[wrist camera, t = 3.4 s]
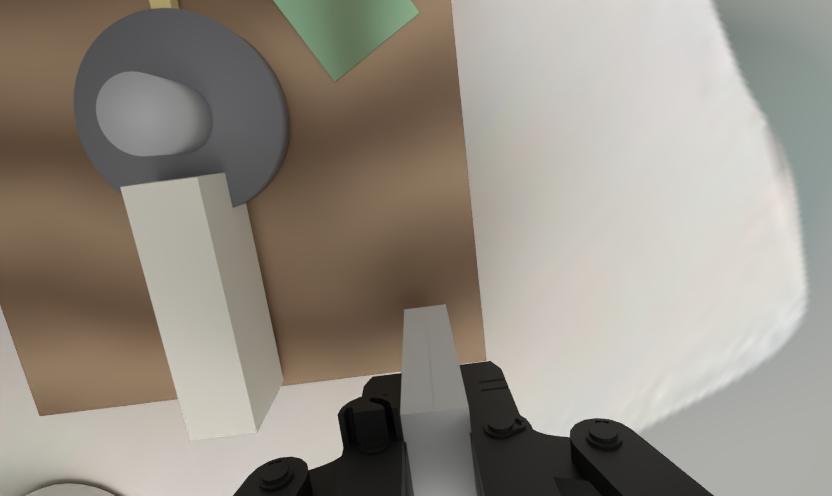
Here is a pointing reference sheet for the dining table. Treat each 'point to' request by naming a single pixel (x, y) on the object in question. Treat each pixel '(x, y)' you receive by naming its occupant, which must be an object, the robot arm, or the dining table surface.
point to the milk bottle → (70, 490)
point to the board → (268, 212)
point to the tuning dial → (192, 196)
